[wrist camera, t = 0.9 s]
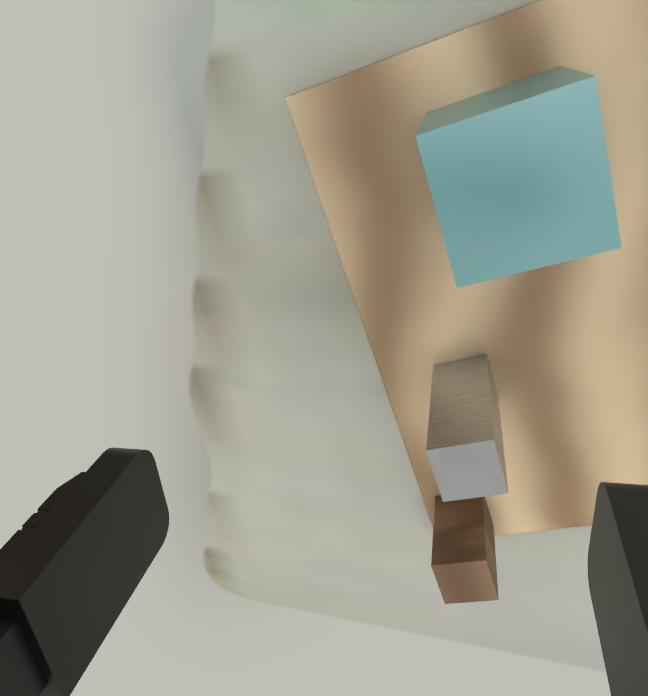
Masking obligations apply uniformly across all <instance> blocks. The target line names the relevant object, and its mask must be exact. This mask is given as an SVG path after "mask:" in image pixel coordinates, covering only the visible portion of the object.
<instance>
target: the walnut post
mask: <svg viewBox="0 0 648 696" xmlns="http://www.w3.org/2000/svg"><path fill="white" fill-rule="evenodd" d="M431 566H432V569H433V571H434V574H435V577H436V580H437V583H438V585H439V588H440V591H441V594H442V597H443V599H444V602H445V604H449V603H463V602H476V601H490V600H498V586H497V571H496V556H495V541H494V526H493V523H492V519H491V516H490V512H489V509H488V506H487V502H486V499H485V497H478V498H470V499H462V500H454V501H447V502H443V501H442V498H441V495H438V496H435V510H434V528H433V546H432V564H431Z"/></svg>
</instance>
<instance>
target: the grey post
mask: <svg viewBox="0 0 648 696" xmlns="http://www.w3.org/2000/svg"><path fill="white" fill-rule="evenodd" d="M426 452H427V455H428V458H429V461H430V464H431V467H432V470H433V473H434V476H435V479H436V482H437V485H438V488H439V492H440V495H441V498H442V501H443V502H447V501H454V500H462V499H470V498H478V497H485V496H493V495H501V494H509V493H508V484H507V474H506V464H505V455H504V445H503V436H502V426H501V416H500V407H499V398H498V395H497V391H496V387H495V383H494V379H493V375H492V372H491V368H490V364H489V360H488V356H487V354H483V355H478V356H473V357H468V358H463V359H458V360H453V361H449V362H444V363H439V364H434V365H433V374H432V385H431V397H430V409H429V421H428V433H427V445H426Z"/></svg>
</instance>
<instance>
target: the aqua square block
mask: <svg viewBox="0 0 648 696" xmlns="http://www.w3.org/2000/svg"><path fill="white" fill-rule="evenodd" d="M416 140H417V143H418V147H419V151H420V154H421V158H422V162H423V165H424V169H425V173H426V177H427V180H428V184H429V188H430V191H431V195H432V199H433V202H434V206H435V210H436V213H437V217H438V221H439V225H440V228H441V232H442V236H443V239H444V243H445V247H446V250H447V254H448V258H449V261H450V265H451V269H452V273H453V276H454V280H455V284H456V287H457V288H459V287H464V286H468V285H472V284H476V283H480V282H484V281H488V280H492V279H496V278H500V277H505V276H509V275H513V274H517V273H521V272H525V271H529V270H533V269H537V268H541V267H546V266H550V265H554V264H558V263H562V262H566V261H570V260H574V259H578V258H582V257H587V256H591V255H595V254H599V253H603V252H607V251H611V250H615V249H619V248H622V246H621V240H620V233H619V227H618V220H617V213H616V207H615V200H614V193H613V187H612V180H611V174H610V167H609V160H608V154H607V147H606V141H605V134H604V127H603V121H602V114H601V108H600V101H599V94H598V88H597V81H596V76H595V75H591V74H588V73H584V72H581V71H577V70H574V69H570V68H567V67H563V66H560V67H557V68H554V69H551V70H548V71H545V72H542V73H539V74H536V75H533V76H531V77H528V78H525V79H522V80H519V81H516V82H513V83H510V84H507V85H504V86H502V87H499V88H496V89H493V90H490V91H487V92H484V93H481V94H478V95H476V96H473V97H470V98H467V99H464V100H461V101H458V102H455V103H452V104H449V105H447V106H444V107H441V108H438V109H435V110H432V111H429V112H426V114H425V116H424V119H423V121H422V123H421V125H420V127H419V129H418V132H417V134H416Z"/></svg>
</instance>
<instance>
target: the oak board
mask: <svg viewBox="0 0 648 696" xmlns="http://www.w3.org/2000/svg"><path fill="white" fill-rule="evenodd" d="M560 66H563V67H567V68H570V69H574V70H577V71H581V72H584V73H588V74H591V75H595V76H596V81H597V88H598V94H599V101H600V108H601V114H602V121H603V127H604V134H605V141H606V147H607V154H608V160H609V167H610V174H611V180H612V187H613V193H614V200H615V207H616V213H617V220H618V227H619V233H620V240H621V246H622V248H619V249H615V250H611V251H607V252H603V253H599V254H595V255H591V256H587V257H582V258H578V259H574V260H570V261H566V262H562V263H558V264H554V265H550V266H546V267H541V268H537V269H533V270H529V271H525V272H521V273H517V274H513V275H509V276H505V277H500V278H496V279H492V280H488V281H484V282H480V283H476V284H472V285H468V286H464V287H459V288H457V287H456V284H455V280H454V276H453V273H452V269H451V265H450V261H449V258H448V254H447V250H446V247H445V243H444V239H443V236H442V232H441V228H440V225H439V221H438V217H437V213H436V210H435V206H434V202H433V199H432V195H431V191H430V188H429V184H428V180H427V177H426V173H425V169H424V165H423V162H422V158H421V154H420V151H419V147H418V143H417V140H416V134H417V132H418V129H419V127H420V125H421V123H422V121H423V119H424V116H425V114H426V112H429V111H432V110H435V109H438V108H441V107H444V106H447V105H449V104H452V103H455V102H458V101H461V100H464V99H467V98H470V97H473V96H476V95H478V94H481V93H484V92H487V91H490V90H493V89H496V88H499V87H502V86H504V85H507V84H510V83H513V82H516V81H519V80H522V79H525V78H528V77H531V76H533V75H536V74H539V73H542V72H545V71H548V70H551V69H554V68H557V67H560ZM285 99H286V102H287V105H288V108H289V111H290V114H291V116H292V119H293V122H294V125H295V128H296V131H297V134H298V137H299V140H300V143H301V145H302V148H303V151H304V154H305V157H306V160H307V163H308V166H309V169H310V171H311V174H312V177H313V180H314V183H315V186H316V189H317V192H318V195H319V198H320V200H321V203H322V206H323V209H324V212H325V215H326V218H327V221H328V224H329V227H330V229H331V232H332V235H333V238H334V241H335V244H336V247H337V250H338V253H339V256H340V258H341V261H342V264H343V267H344V270H345V273H346V276H347V279H348V282H349V285H350V287H351V290H352V293H353V296H354V299H355V302H356V305H357V308H358V311H359V314H360V316H361V319H362V322H363V325H364V328H365V331H366V334H367V337H368V340H369V343H370V345H371V348H372V351H373V354H374V357H375V360H376V363H377V366H378V369H379V372H380V374H381V377H382V380H383V383H384V386H385V389H386V392H387V395H388V398H389V401H390V403H391V406H392V409H393V412H394V415H395V418H396V421H397V424H398V427H399V430H400V432H401V435H402V438H403V441H404V444H405V447H406V450H407V453H408V456H409V459H410V461H411V464H412V467H413V470H414V473H415V476H416V479H417V482H418V485H419V488H420V490H421V493H422V496H423V499H424V502H425V505H426V508H427V511H428V514H429V517H430V519H431V522H432V525H433V528H434V510H435V496H438V495H440V492H439V488H438V485H437V482H436V479H435V476H434V473H433V470H432V467H431V464H430V461H429V458H428V455H427V452H426V445H427V433H428V421H429V409H430V397H431V385H432V374H433V365H434V364H439V363H444V362H449V361H453V360H458V359H463V358H468V357H473V356H478V355H483V354H487V356H488V360H489V364H490V368H491V372H492V375H493V379H494V383H495V387H496V391H497V395H498V398H499V407H500V416H501V426H502V436H503V445H504V455H505V464H506V474H507V484H508V493H509V494H501V495H493V496H485V499H486V502H487V506H488V509H489V512H490V516H491V519H492V523H493V526H494V536H495V535H504V534H514V533H523V532H532V531H542V530H551V529H560V528H570V527H579V526H588V525H592V523H593V516H594V510H595V503H596V496H597V490H598V486H599V484H600V482H611V483H625V484H640V485H648V0H539V1H537V2H534V3H531V4H529V5H526V6H524V7H521V8H518V9H516V10H513V11H511V12H508V13H505V14H503V15H500V16H497V17H495V18H492V19H490V20H487V21H484V22H482V23H479V24H477V25H474V26H471V27H469V28H466V29H464V30H461V31H458V32H456V33H453V34H451V35H448V36H445V37H443V38H440V39H437V40H435V41H432V42H430V43H427V44H424V45H422V46H419V47H417V48H414V49H411V50H409V51H406V52H404V53H401V54H398V55H396V56H393V57H390V58H388V59H385V60H383V61H380V62H377V63H375V64H372V65H370V66H367V67H364V68H362V69H359V70H357V71H354V72H351V73H349V74H346V75H343V76H341V77H338V78H336V79H333V80H330V81H328V82H325V83H323V84H320V85H317V86H315V87H312V88H310V89H307V90H304V91H302V92H299V93H297V94H294V95H291V96H289V97H286V98H285Z"/></svg>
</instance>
